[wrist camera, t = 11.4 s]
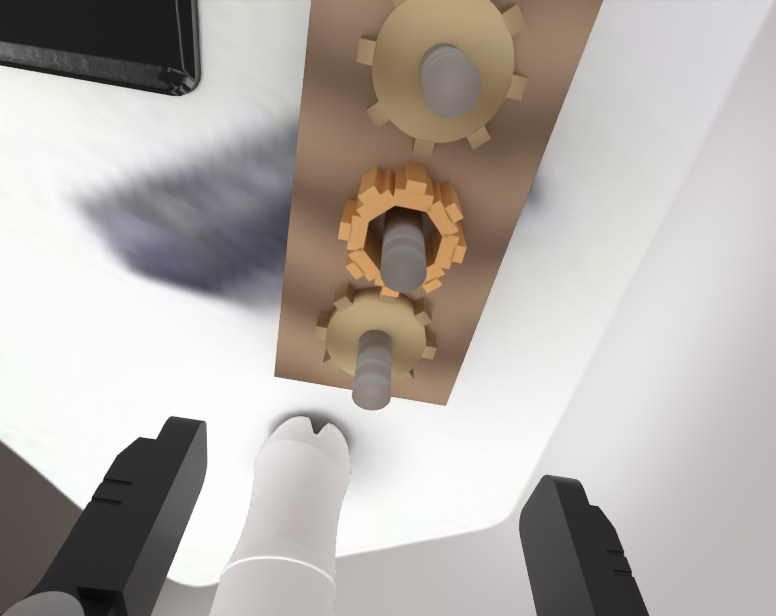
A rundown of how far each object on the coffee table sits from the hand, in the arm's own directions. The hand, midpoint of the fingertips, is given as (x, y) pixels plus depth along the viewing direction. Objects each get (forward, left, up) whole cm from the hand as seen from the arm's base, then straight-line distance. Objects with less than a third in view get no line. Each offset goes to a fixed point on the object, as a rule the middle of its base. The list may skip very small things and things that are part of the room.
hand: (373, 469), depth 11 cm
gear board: (0, +1, -19) cm, 19 cm away
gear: (+1, +1, -17) cm, 17 cm away
